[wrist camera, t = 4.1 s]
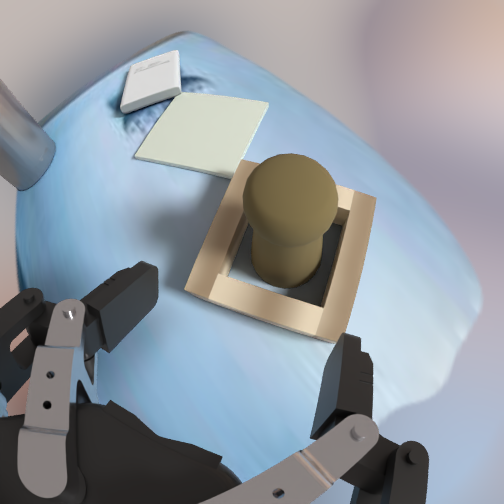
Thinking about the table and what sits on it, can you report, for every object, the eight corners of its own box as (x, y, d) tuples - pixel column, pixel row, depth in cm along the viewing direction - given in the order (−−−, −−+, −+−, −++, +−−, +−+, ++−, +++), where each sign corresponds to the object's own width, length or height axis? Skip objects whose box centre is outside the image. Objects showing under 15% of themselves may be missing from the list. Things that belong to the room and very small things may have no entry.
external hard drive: (123, 115, 31) (132, 72, 36) (182, 95, 31) (180, 56, 36) (119, 106, 30) (129, 65, 34) (178, 85, 30) (177, 48, 34)
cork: (239, 273, 24) (209, 215, 13) (266, 211, 25) (257, 126, 15) (308, 298, 22) (334, 258, 12) (330, 233, 24) (361, 156, 14)
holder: (195, 296, 23) (183, 289, 21) (244, 177, 27) (241, 159, 24) (333, 343, 21) (341, 343, 18) (367, 213, 24) (376, 197, 22)
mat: (136, 159, 29) (134, 156, 28) (180, 95, 32) (179, 92, 31) (233, 179, 27) (232, 176, 26) (268, 106, 30) (268, 102, 29)
